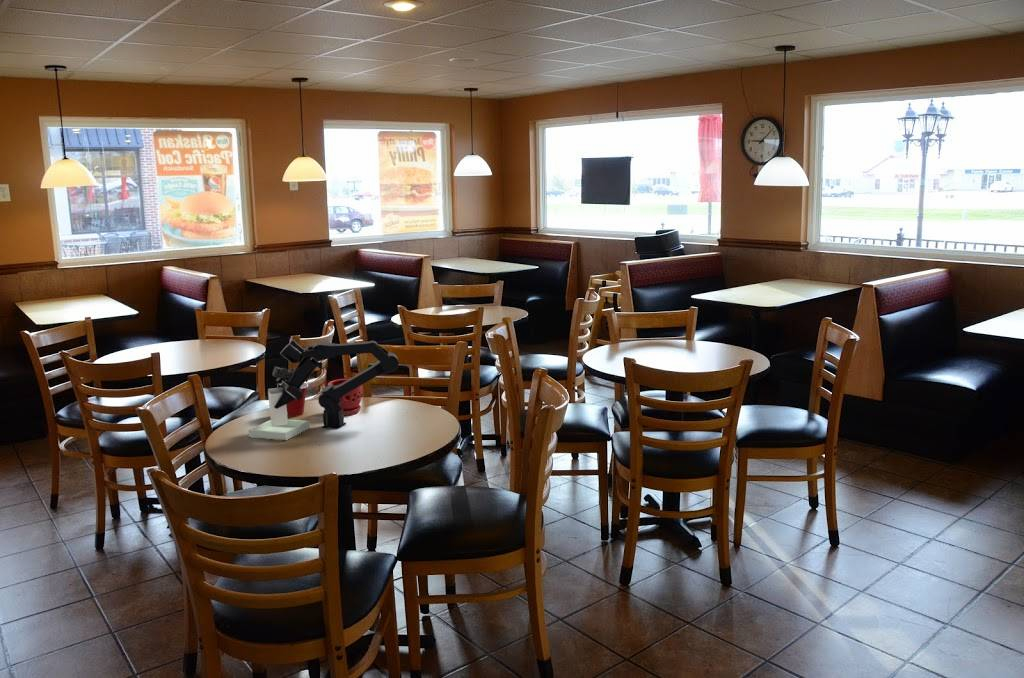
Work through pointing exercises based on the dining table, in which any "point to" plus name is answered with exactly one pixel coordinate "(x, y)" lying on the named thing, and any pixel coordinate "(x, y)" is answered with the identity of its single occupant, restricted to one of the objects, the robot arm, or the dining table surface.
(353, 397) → the plant pot
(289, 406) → the plastic cup
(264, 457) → the dining table surface
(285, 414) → the white rectangular box
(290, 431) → the tray
